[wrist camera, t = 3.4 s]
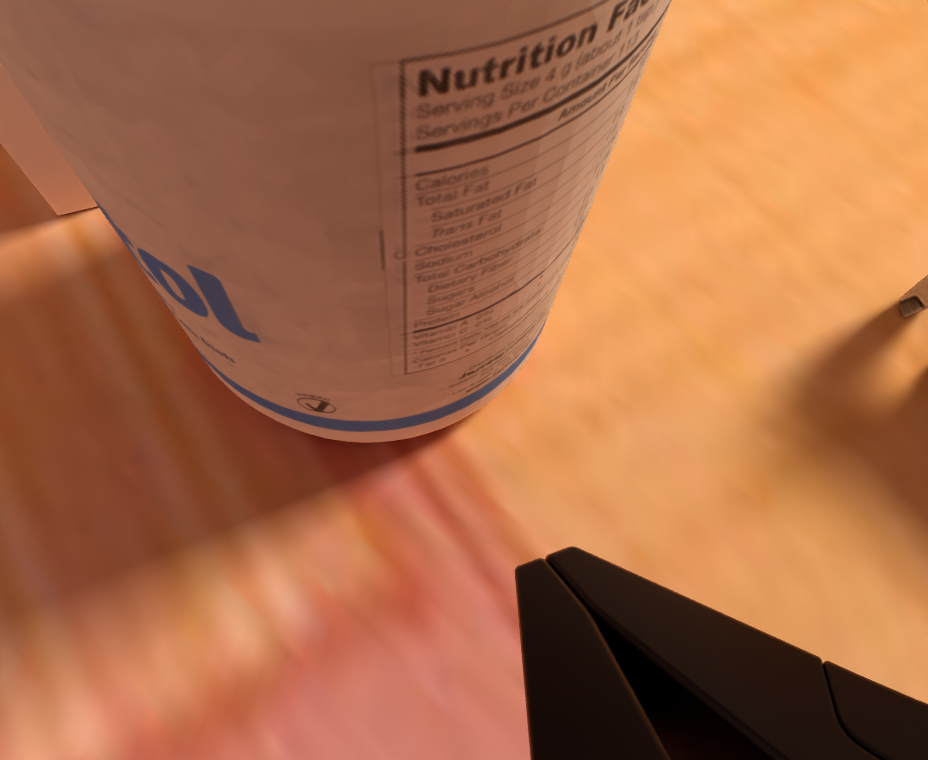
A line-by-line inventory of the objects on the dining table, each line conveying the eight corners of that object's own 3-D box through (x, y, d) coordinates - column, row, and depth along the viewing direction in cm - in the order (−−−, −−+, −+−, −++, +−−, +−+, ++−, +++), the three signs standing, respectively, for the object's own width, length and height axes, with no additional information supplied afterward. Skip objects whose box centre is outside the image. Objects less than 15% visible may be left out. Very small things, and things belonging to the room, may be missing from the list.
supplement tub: (121, 289, 18) (-841, -929, 4) (376, 103, 21) (289, -933, 7) (378, 539, 15) (61, -377, 2) (620, 288, 19) (1140, -723, 5)
